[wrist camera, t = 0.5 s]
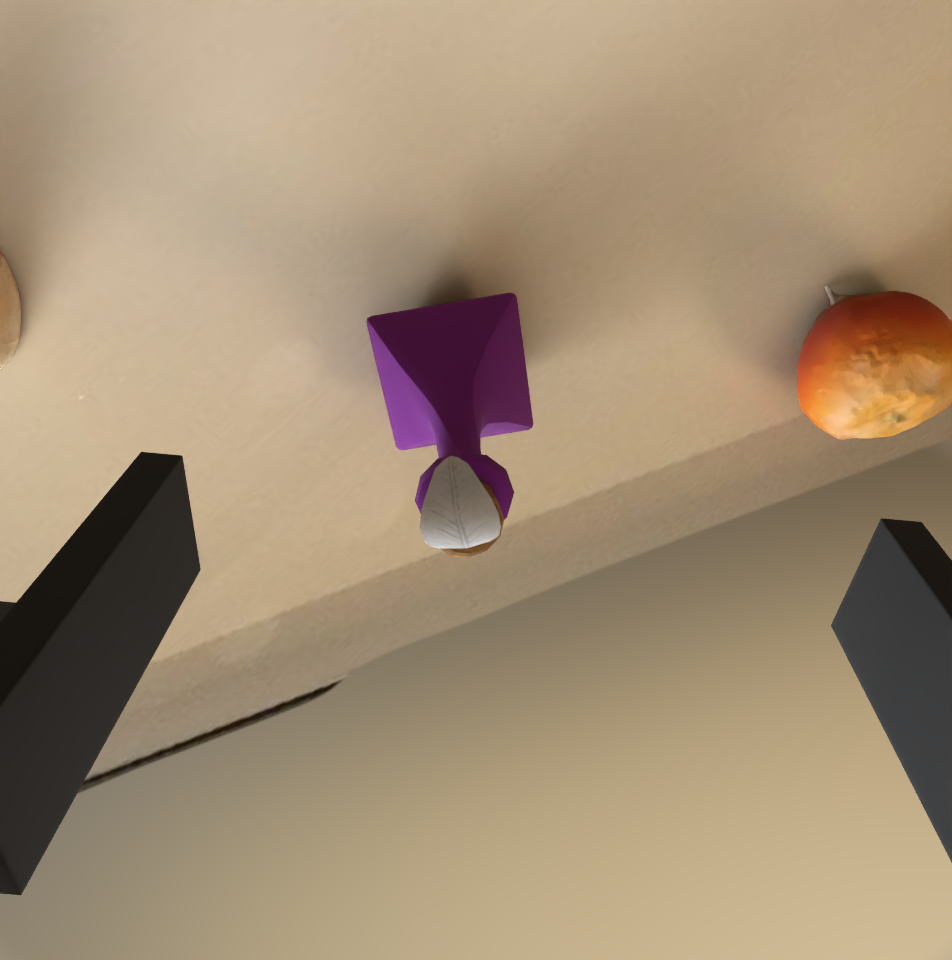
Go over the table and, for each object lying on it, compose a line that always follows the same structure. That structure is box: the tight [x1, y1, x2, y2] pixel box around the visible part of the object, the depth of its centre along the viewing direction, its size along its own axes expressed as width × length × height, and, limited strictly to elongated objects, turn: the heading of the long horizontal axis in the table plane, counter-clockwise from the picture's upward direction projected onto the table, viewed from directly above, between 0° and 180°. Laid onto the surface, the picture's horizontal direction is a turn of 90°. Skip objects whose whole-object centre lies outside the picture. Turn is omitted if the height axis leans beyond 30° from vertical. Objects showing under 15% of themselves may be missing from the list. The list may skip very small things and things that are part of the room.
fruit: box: [797, 285, 952, 439], centre depth 39 cm, size 8×8×8 cm
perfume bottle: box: [367, 293, 533, 557], centre depth 33 cm, size 8×8×18 cm
